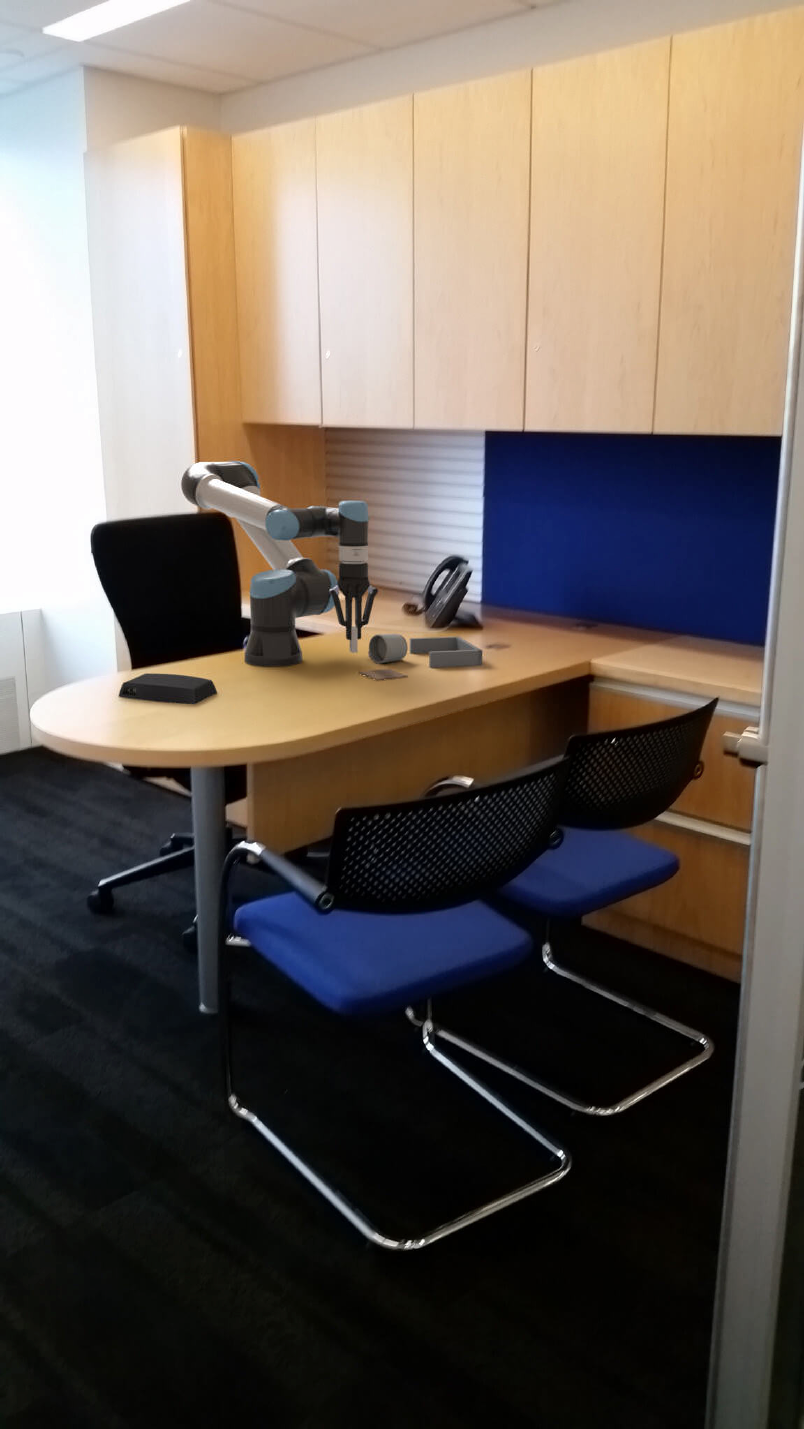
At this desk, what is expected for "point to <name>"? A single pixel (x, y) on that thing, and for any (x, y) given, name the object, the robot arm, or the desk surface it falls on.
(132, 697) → the external hard drive
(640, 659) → the desk surface
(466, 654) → the grey c-shaped bracket
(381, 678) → the walnut coaster
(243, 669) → the desk surface
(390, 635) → the ceramic mug
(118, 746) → the desk surface
